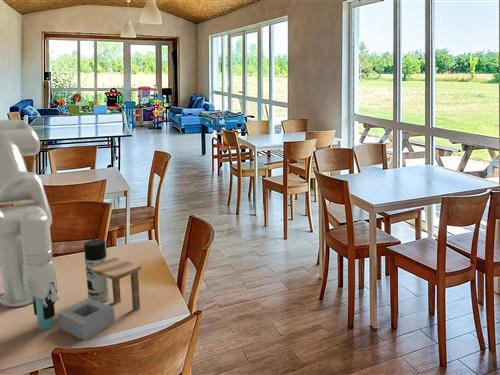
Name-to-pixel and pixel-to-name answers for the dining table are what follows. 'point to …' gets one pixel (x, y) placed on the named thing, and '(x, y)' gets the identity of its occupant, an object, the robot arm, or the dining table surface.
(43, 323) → the peg
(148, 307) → the dining table surface
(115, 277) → the board on two legs
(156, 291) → the dining table surface
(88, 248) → the spray can
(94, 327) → the socket block
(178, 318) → the dining table surface
